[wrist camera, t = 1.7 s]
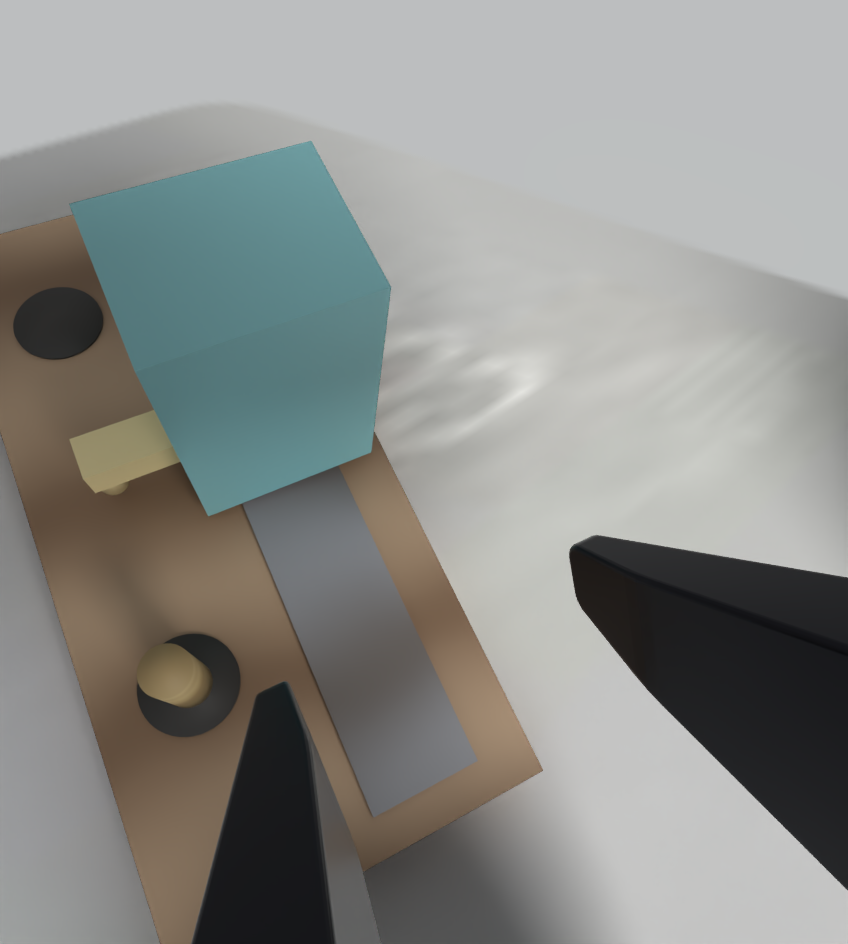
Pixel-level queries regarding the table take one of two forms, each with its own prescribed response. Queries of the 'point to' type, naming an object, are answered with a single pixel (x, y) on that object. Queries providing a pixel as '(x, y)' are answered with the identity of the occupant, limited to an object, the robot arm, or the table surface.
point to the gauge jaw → (238, 326)
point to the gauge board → (235, 609)
